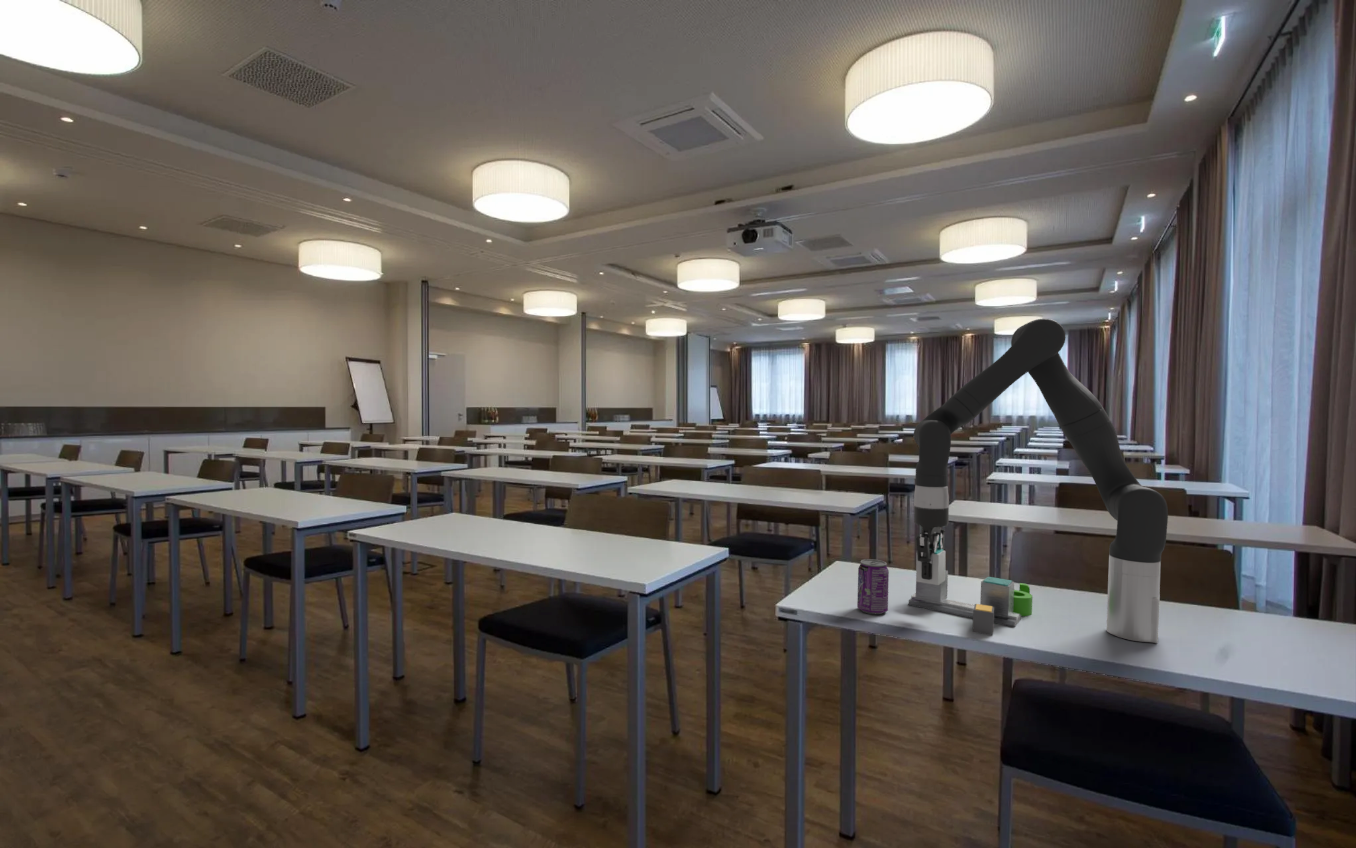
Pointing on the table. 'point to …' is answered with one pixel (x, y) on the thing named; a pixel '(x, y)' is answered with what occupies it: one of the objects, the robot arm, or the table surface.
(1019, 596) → the tape dispenser
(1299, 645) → the table surface
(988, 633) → the block
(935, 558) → the block
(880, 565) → the beverage can
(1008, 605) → the rail
